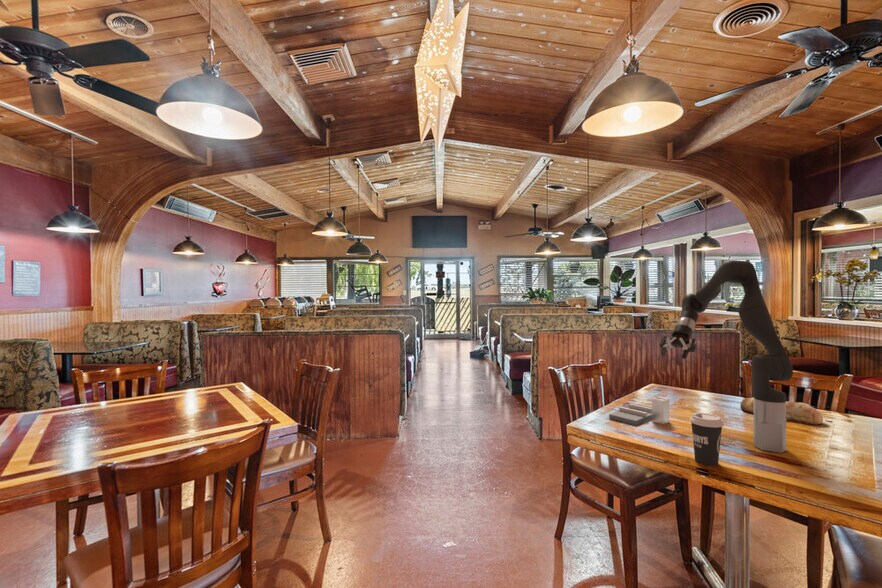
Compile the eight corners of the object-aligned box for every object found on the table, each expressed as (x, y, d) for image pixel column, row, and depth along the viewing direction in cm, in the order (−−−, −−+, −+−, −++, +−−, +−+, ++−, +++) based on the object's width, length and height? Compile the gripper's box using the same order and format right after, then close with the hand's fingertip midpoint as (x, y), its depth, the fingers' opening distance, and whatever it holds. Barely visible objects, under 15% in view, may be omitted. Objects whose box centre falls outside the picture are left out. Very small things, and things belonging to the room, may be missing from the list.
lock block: (669, 422, 180) (669, 398, 180) (663, 424, 177) (663, 400, 177) (657, 419, 184) (657, 396, 184) (651, 421, 181) (651, 397, 181)
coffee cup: (694, 453, 146) (694, 410, 146) (727, 461, 139) (727, 416, 139) (685, 461, 139) (685, 416, 139) (719, 470, 133) (719, 422, 132)
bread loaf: (728, 415, 193) (729, 395, 192) (734, 405, 206) (735, 386, 205) (833, 436, 170) (834, 413, 169) (832, 423, 182) (833, 401, 182)
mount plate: (664, 413, 192) (664, 405, 192) (636, 425, 176) (635, 417, 176) (638, 408, 202) (638, 400, 202) (609, 418, 186) (609, 410, 186)
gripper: (665, 322, 199) (653, 349, 192) (698, 324, 187) (687, 353, 180) (670, 333, 202) (659, 359, 195) (703, 335, 191) (692, 364, 184)
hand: (672, 356), depth 188 cm, fingers open, 8 cm apart
